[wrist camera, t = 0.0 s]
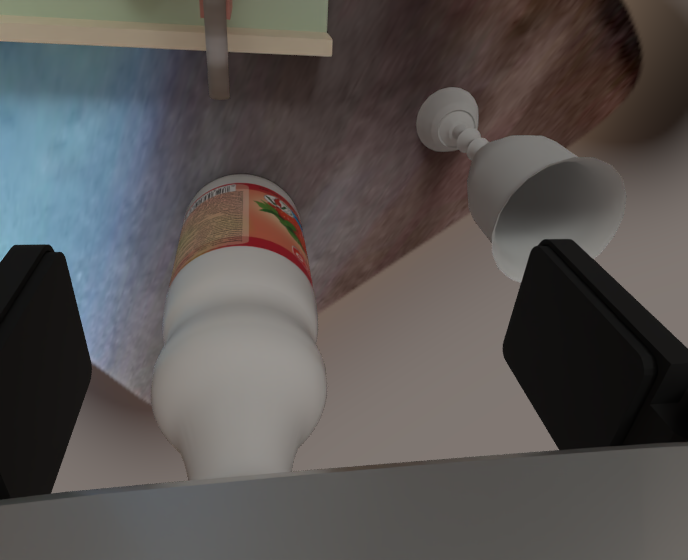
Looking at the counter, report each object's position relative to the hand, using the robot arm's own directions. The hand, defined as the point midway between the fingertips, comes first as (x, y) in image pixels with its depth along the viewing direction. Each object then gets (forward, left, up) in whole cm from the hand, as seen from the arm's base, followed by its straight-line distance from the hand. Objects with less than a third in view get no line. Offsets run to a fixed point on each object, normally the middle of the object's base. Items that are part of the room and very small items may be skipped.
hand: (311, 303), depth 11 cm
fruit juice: (+14, -2, -31) cm, 34 cm away
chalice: (+5, +14, -31) cm, 35 cm away
